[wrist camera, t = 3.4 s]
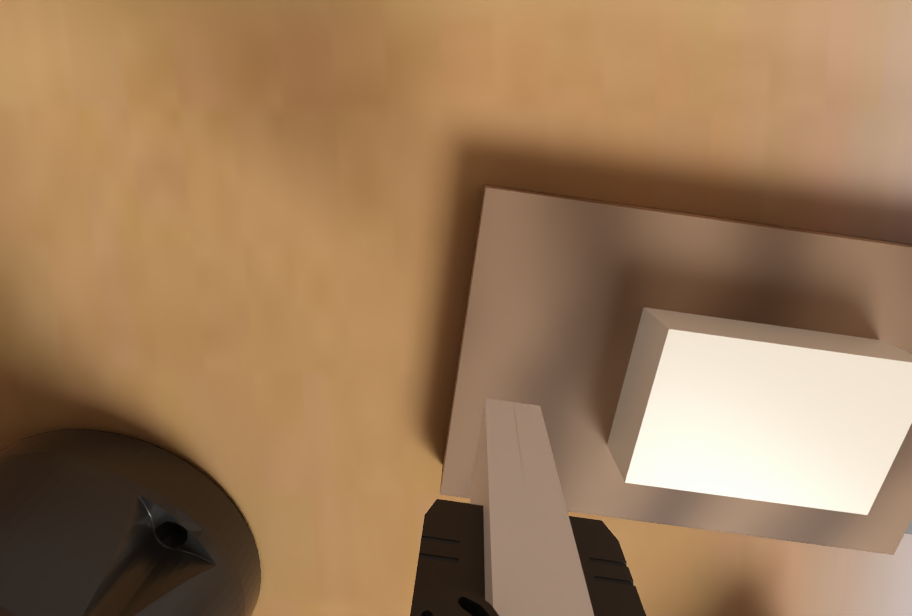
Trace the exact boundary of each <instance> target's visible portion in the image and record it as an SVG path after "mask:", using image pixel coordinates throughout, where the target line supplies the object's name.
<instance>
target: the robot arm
mask: <svg viewBox="0 0 912 616" xmlns="http://www.w3.org/2000/svg"><path fill="white" fill-rule="evenodd" d="M260 583H261V569H260V561H259V556H258V551H257V548H256V545H255V542H254V539H253V537H252V534H251V532H250V530H249V528H248V526H247V524H246V523H245V521H244V519H243V518H242V516H241V514H240V513H239V512H238V510H237V509H236V507H235V506H234V505H233V503H232V502H231V501H230V500H229V498H228V497H227V496H226V495H225V494H224V493H223V492H222V491H221V490H220V489H219V488H218V487H217V486H216V485H215V484H214V483H213V482H212V481H211V480H209V479H208V478H207V477H206V476H205V475H203V474H202V473H201V472H199V471H198V470H197V469H195V468H194V467H193V466H191V465H189V464H188V463H186V462H185V461H183V460H182V459H180V458H178V457H176V456H175V455H173V454H171V453H169V452H167V451H165V450H163V449H161V448H158V447H156V446H154V445H151V444H149V443H146V442H143V441H141V440H138V439H134V438H131V437H128V436H124V435H119V434H115V433H109V432H103V431H94V430H61V431H53V432H47V433H43V434H39V435H35V436H32V437H29V438H26V439H23V440H21V441H19V442H17V443H14V444H13V445H11V446H9V447H7V448H6V449H4V450H2V451H1V452H0V616H251V615H252V613H253V611H254V608H255V606H256V603H257V600H258V596H259V591H260ZM410 616H646V614H645V611H644V609H643V606H642V603H641V601H640V598H639V595H638V593H637V590H636V587H635V586H633V579H632V576H631V574H630V571H629V568H628V567H626V560H625V558H624V555H623V552H622V549H621V547H620V544H619V541H618V540H617V539H616V537H615V536H614V535H613V534H612V533H611V531H610V530H609V529H608V528H607V527H606V525H605V524H604V523H603V522H602V521H600V520H593V519H586V518H579V517H572V516H568V512H567V508H566V504H565V500H564V496H563V492H562V489H561V485H560V481H559V477H558V473H557V469H556V465H555V461H554V458H553V454H552V450H551V446H550V442H549V438H548V434H547V430H546V427H545V423H544V419H543V415H542V411H541V407H540V406H538V405H531V404H524V403H517V402H510V401H503V400H496V399H489V398H485V403H484V409H483V415H482V421H481V427H480V432H479V438H478V444H477V450H476V456H475V462H474V467H473V473H472V479H471V504H468V503H461V502H454V501H447V500H440V499H437V500H436V501H435V502H434V504H433V505H432V506H431V508H430V509H429V510H428V512H427V513H426V514H425V518H424V525H423V531H422V538H421V545H420V552H419V559H418V566H417V573H416V580H415V586H414V593H413V600H412V607H411V614H410Z"/></svg>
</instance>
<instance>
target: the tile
mask: <svg viewBox="0 0 912 616" xmlns="http://www.w3.org/2000/svg"><path fill="white" fill-rule="evenodd" d="M911 424H912V354H910V353H908V352H906V351H903V350H901V349H899V348H897V347H894V346H892V345H890V344H888V343H885V342H883V341H881V340H877V339H869V338H862V337H855V336H848V335H841V334H833V333H826V332H819V331H812V330H804V329H797V328H790V327H783V326H776V325H768V324H761V323H754V322H747V321H739V320H732V319H725V318H718V317H711V316H703V315H696V314H689V313H682V312H675V311H667V310H660V309H653V308H646V307H643V311H642V315H641V319H640V323H639V326H638V330H637V334H636V338H635V341H634V345H633V349H632V353H631V356H630V360H629V364H628V368H627V371H626V375H625V379H624V383H623V386H622V390H621V394H620V398H619V401H618V405H617V409H616V413H615V417H614V420H613V424H612V428H611V432H610V435H609V439H608V443H607V446H608V448H609V450H610V452H611V454H612V457H613V459H614V461H615V463H616V465H617V467H618V469H619V471H620V473H621V476H622V478H623V480H624V482H625V483H631V484H639V485H646V486H654V487H661V488H669V489H676V490H684V491H691V492H698V493H706V494H713V495H721V496H728V497H736V498H743V499H751V500H758V501H765V502H773V503H780V504H788V505H795V506H803V507H810V508H818V509H825V510H833V511H840V512H847V513H855V514H862V515H868V513H869V511H870V509H871V507H872V505H873V503H874V500H875V498H876V496H877V494H878V492H879V490H880V488H881V486H882V484H883V482H884V480H885V478H886V476H887V473H888V471H889V469H890V467H891V465H892V463H893V461H894V459H895V457H896V455H897V453H898V451H899V449H900V446H901V444H902V442H903V440H904V438H905V436H906V434H907V432H908V430H909V428H910V426H911Z"/></svg>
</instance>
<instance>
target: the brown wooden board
mask: <svg viewBox="0 0 912 616" xmlns="http://www.w3.org/2000/svg"><path fill="white" fill-rule="evenodd" d="M643 307H646V308H653V309H660V310H667V311H675V312H682V313H689V314H696V315H703V316H711V317H718V318H725V319H732V320H739V321H747V322H754V323H761V324H768V325H776V326H783V327H790V328H797V329H804V330H812V331H819V332H826V333H833V334H841V335H848V336H855V337H862V338H869V339H877V340H881V341H883V342H885V343H888V344H890V345H892V346H894V347H897V348H899V349H901V350H903V351H906V352H908V353H910V354H912V245H909V244H902V243H895V242H888V241H881V240H873V239H866V238H859V237H852V236H845V235H838V234H831V233H824V232H817V231H810V230H803V229H795V228H788V227H781V226H774V225H767V224H760V223H753V222H746V221H739V220H732V219H725V218H717V217H710V216H703V215H696V214H689V213H682V212H675V211H668V210H661V209H654V208H647V207H639V206H632V205H625V204H618V203H611V202H604V201H597V200H590V199H583V198H576V197H569V196H562V195H554V194H547V193H540V192H533V191H526V190H519V189H512V188H505V187H498V186H491V185H484V191H483V197H482V204H481V211H480V218H479V224H478V231H477V238H476V245H475V251H474V258H473V265H472V272H471V278H470V285H469V292H468V298H467V305H466V312H465V319H464V325H463V332H462V339H461V346H460V352H459V359H458V366H457V373H456V379H455V386H454V393H453V400H452V406H451V413H450V420H449V427H448V433H447V440H446V447H445V454H444V460H443V468H442V479H441V489H440V494H441V495H448V496H456V497H463V498H471V479H472V473H473V467H474V462H475V456H476V450H477V444H478V438H479V432H480V427H481V421H482V415H483V409H484V403H485V398H489V399H496V400H503V401H510V402H517V403H524V404H531V405H538V406H540V407H541V411H542V415H543V419H544V423H545V427H546V430H547V434H548V438H549V442H550V446H551V450H552V454H553V458H554V461H555V465H556V469H557V473H558V477H559V481H560V485H561V489H562V492H563V496H564V500H565V504H566V508H567V511H568V512H576V513H583V514H591V515H598V516H606V517H613V518H621V519H628V520H636V521H643V522H651V523H658V524H666V525H673V526H681V527H688V528H696V529H703V530H711V531H718V532H726V533H733V534H741V535H748V536H756V537H763V538H771V539H778V540H786V541H793V542H801V543H808V544H816V545H823V546H831V547H838V548H846V549H853V550H861V551H868V552H876V553H883V554H891V555H894V553H895V551H896V549H897V547H898V545H899V543H900V541H901V539H902V537H903V535H904V534H905V532H906V530H907V528H908V526H909V524H910V522H911V520H912V424H911V426H910V428H909V430H908V432H907V434H906V436H905V438H904V440H903V442H902V444H901V446H900V449H899V451H898V453H897V455H896V457H895V459H894V461H893V463H892V465H891V467H890V469H889V471H888V473H887V476H886V478H885V480H884V482H883V484H882V486H881V488H880V490H879V492H878V494H877V496H876V498H875V500H874V503H873V505H872V507H871V509H870V511H869V513H868V515H862V514H855V513H847V512H840V511H833V510H825V509H818V508H810V507H803V506H795V505H788V504H780V503H773V502H765V501H758V500H751V499H743V498H736V497H728V496H721V495H713V494H706V493H698V492H691V491H684V490H676V489H669V488H661V487H654V486H646V485H639V484H631V483H625V482H624V480H623V478H622V476H621V473H620V471H619V469H618V467H617V465H616V463H615V461H614V459H613V457H612V454H611V452H610V450H609V448H608V446H607V443H608V439H609V435H610V432H611V428H612V424H613V420H614V417H615V413H616V409H617V405H618V401H619V398H620V394H621V390H622V386H623V383H624V379H625V375H626V371H627V368H628V364H629V360H630V356H631V353H632V349H633V345H634V341H635V338H636V334H637V330H638V326H639V323H640V319H641V315H642V311H643Z"/></svg>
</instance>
